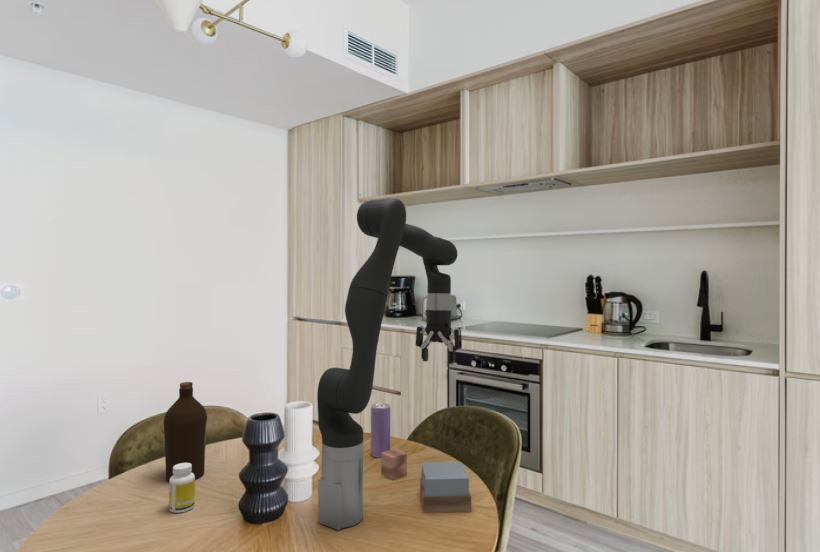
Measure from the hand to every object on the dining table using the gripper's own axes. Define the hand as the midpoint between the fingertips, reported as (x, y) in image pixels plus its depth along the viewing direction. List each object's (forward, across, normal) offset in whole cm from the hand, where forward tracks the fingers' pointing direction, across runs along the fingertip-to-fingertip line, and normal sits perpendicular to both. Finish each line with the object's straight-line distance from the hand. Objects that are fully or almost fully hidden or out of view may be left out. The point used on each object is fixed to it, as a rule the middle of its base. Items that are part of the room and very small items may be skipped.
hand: (438, 362), depth 145 cm
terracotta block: (+29, -5, -17) cm, 34 cm away
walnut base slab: (+29, +14, -24) cm, 41 cm away
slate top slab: (+25, +14, -25) cm, 38 cm away
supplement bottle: (+29, -37, -58) cm, 75 cm away
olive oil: (+29, -53, -46) cm, 76 cm away
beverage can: (+29, -16, -6) cm, 34 cm away
